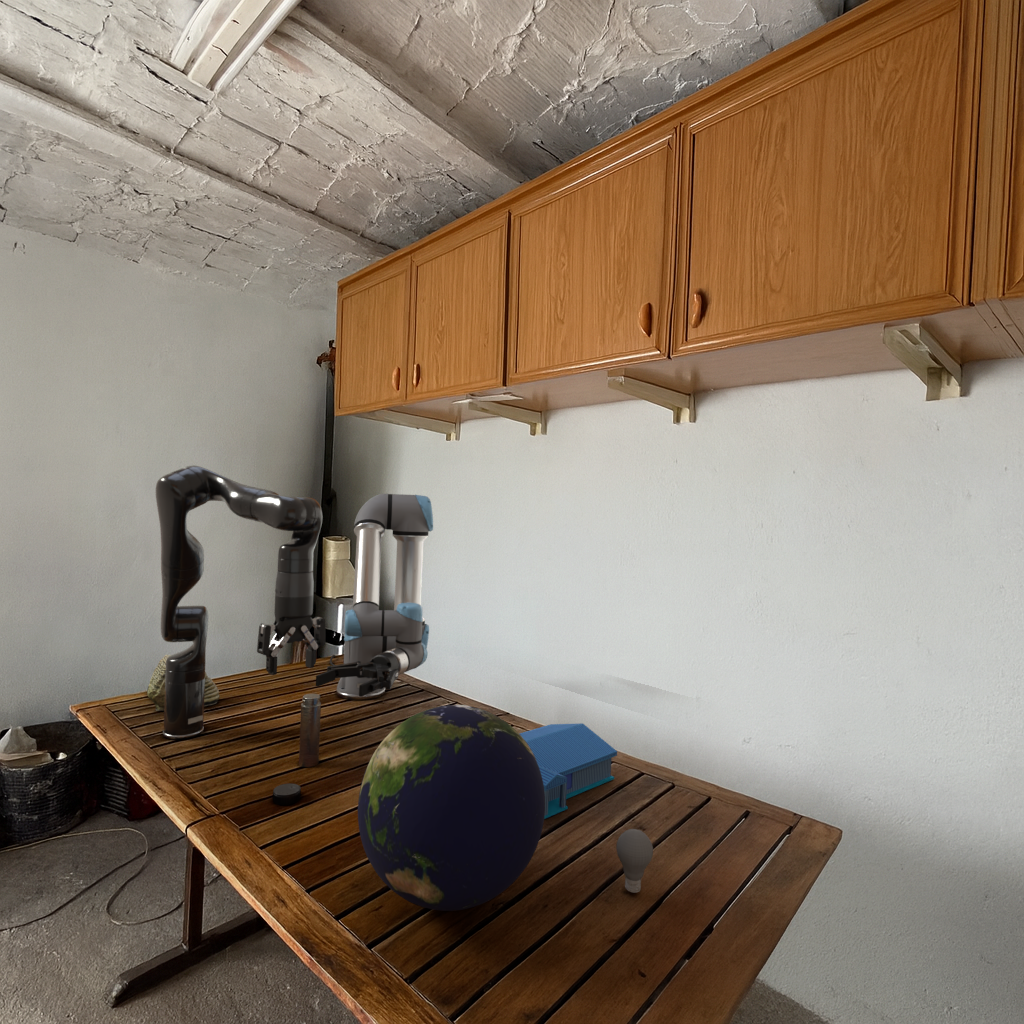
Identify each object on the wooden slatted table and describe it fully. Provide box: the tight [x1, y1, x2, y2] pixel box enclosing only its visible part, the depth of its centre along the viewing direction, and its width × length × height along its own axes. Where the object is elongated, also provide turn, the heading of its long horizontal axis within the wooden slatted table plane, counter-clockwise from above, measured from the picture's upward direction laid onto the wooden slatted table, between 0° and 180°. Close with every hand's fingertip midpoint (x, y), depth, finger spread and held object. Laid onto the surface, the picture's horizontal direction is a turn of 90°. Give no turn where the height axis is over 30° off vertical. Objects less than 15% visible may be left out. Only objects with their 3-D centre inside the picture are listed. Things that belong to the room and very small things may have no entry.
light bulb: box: [615, 828, 654, 894], centre depth 106 cm, size 6×6×10 cm
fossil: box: [146, 654, 221, 712], centre depth 185 cm, size 9×18×15 cm, turn 132°
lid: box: [272, 783, 302, 806], centre depth 132 cm, size 6×6×2 cm
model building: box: [519, 722, 618, 820], centre depth 142 cm, size 39×24×10 cm, turn 132°
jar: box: [298, 693, 322, 768], centre depth 150 cm, size 4×4×16 cm
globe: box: [357, 704, 545, 912], centre depth 102 cm, size 30×30×30 cm
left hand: (291, 670), depth 132 cm, fingers open, 8 cm apart
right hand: (338, 686), depth 158 cm, fingers open, 13 cm apart
